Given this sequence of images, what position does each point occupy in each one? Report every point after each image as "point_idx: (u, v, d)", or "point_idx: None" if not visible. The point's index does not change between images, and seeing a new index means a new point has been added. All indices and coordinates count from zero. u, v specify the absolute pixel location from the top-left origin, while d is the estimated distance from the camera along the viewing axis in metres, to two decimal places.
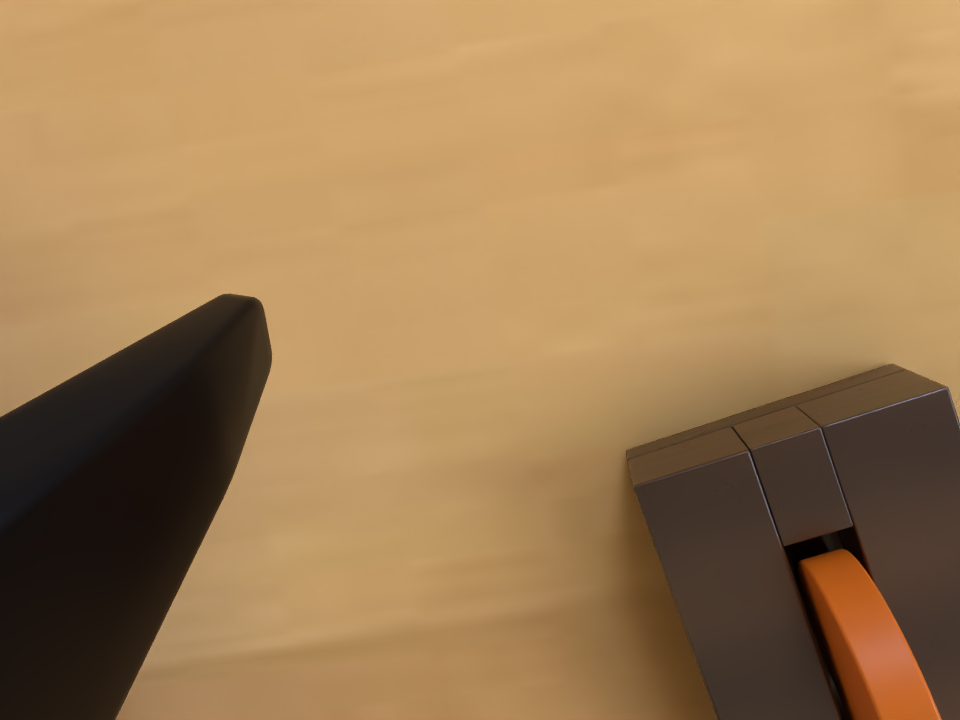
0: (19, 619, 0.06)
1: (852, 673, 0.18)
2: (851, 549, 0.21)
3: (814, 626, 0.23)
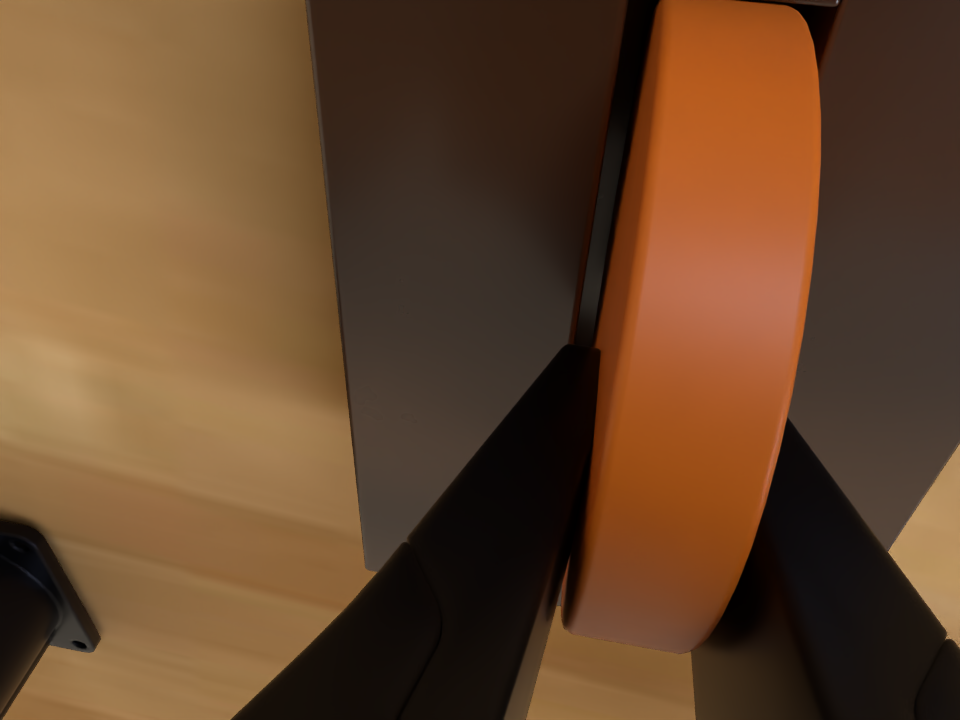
0: (513, 718, 0.06)
1: (622, 268, 0.07)
2: None
3: (614, 207, 0.11)
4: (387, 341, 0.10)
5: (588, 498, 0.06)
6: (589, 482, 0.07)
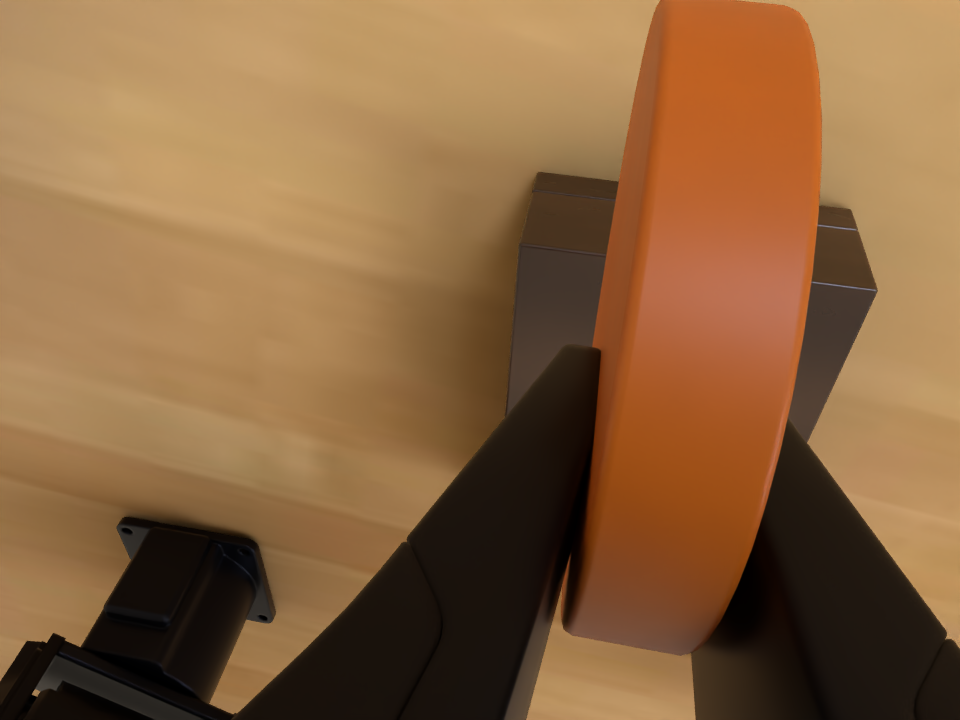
0: (513, 718, 0.06)
1: (622, 269, 0.07)
2: None
3: (615, 208, 0.11)
4: None
5: (588, 499, 0.06)
6: (589, 483, 0.07)
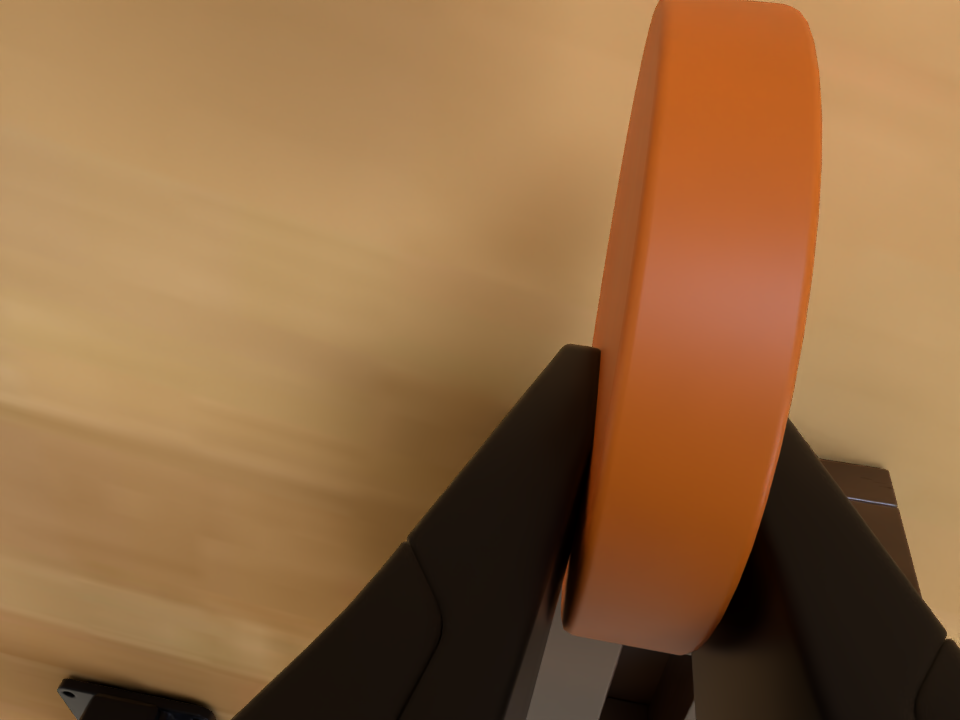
0: (513, 719, 0.06)
1: (622, 269, 0.07)
2: None
3: (615, 208, 0.11)
4: None
5: (588, 499, 0.06)
6: (589, 483, 0.07)
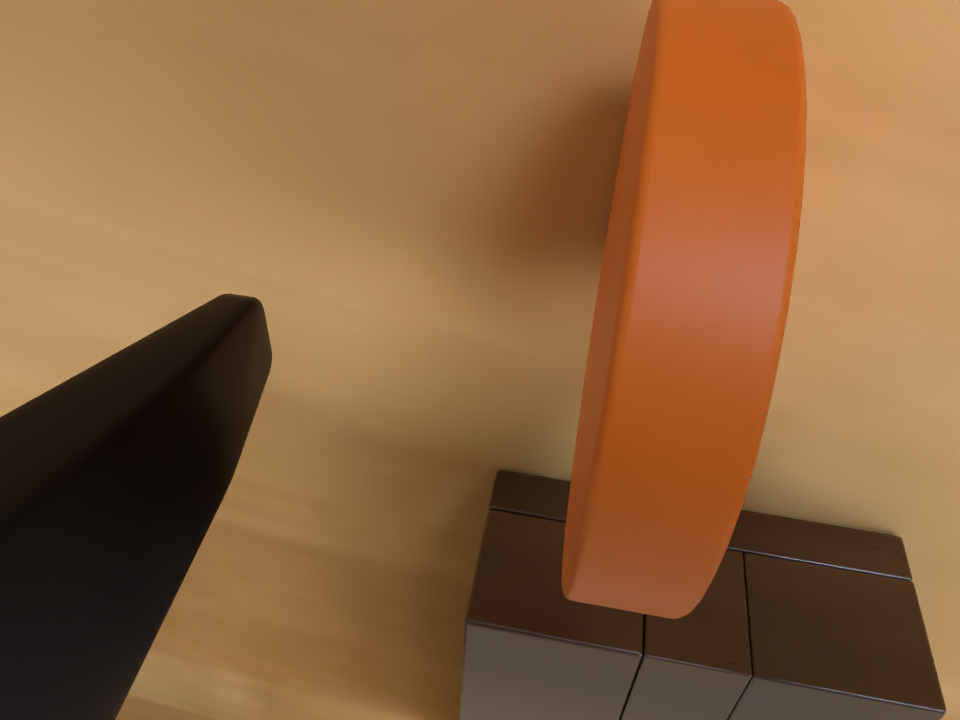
0: (19, 620, 0.06)
1: (619, 251, 0.07)
2: None
3: (613, 196, 0.11)
4: None
5: (586, 468, 0.07)
6: (588, 453, 0.07)
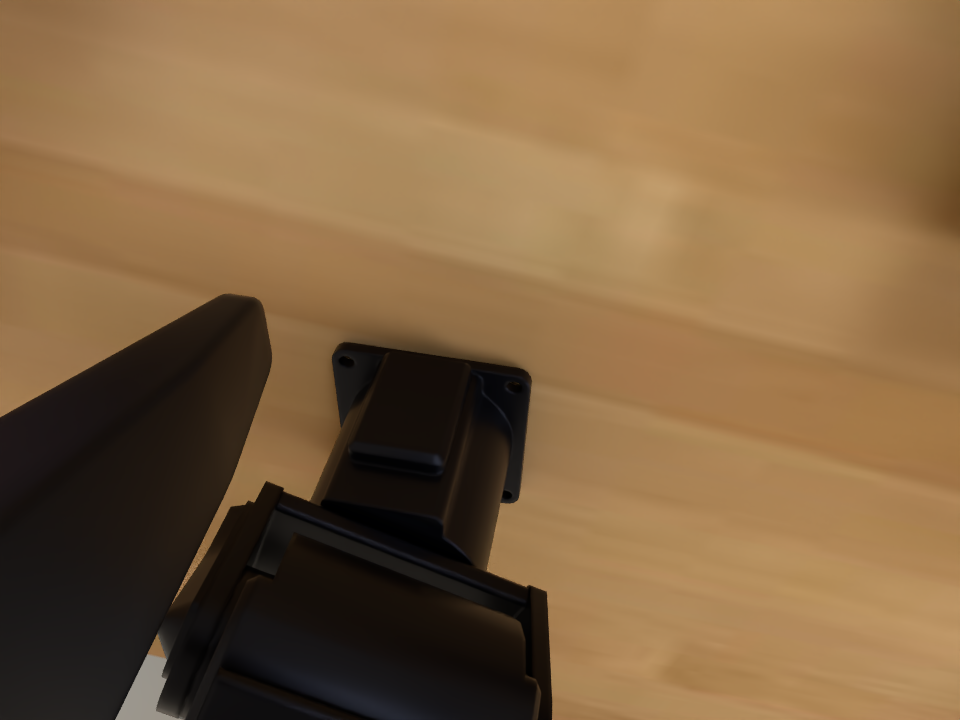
0: (19, 619, 0.06)
1: None
2: None
3: None
4: None
5: None
6: None
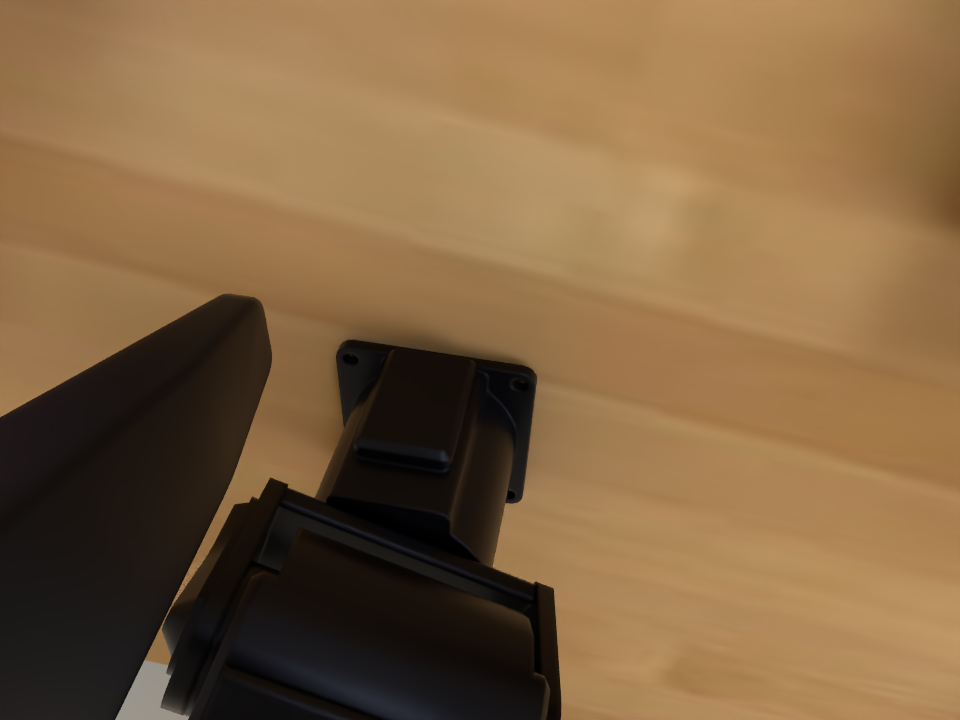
0: (19, 619, 0.06)
1: None
2: None
3: None
4: None
5: None
6: None
